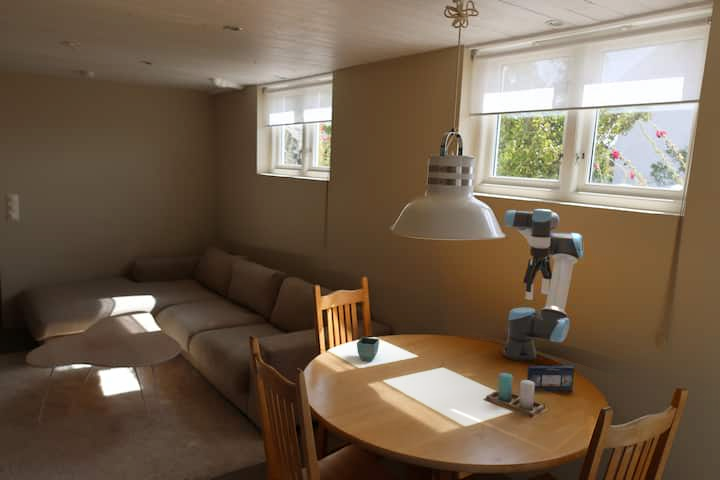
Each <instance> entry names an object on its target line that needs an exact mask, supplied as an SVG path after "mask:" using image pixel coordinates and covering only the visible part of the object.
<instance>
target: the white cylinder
mask: <svg viewBox="0 0 720 480" xmlns="http://www.w3.org/2000/svg"><path fill="white" fill-rule="evenodd" d="M519 384H520V387H519V395H520V400H519V407H521V408H523V409H526V410H529V411H532V410H533V402H534V401H535V400H534V399H535V389H534V387H535V383H534V382H532V381H530V380H527V379H523V380H521V381H520V383H519Z"/></svg>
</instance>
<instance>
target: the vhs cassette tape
mask: <svg viewBox="0 0 720 480" xmlns="http://www.w3.org/2000/svg"><path fill="white" fill-rule="evenodd" d="M574 375H575V367H574V366H572V365H528V366H527V378H526V380H530V381H532V382H534V383H535V387H534V390H537V389H538V390H542V391H546V392H572V391H573V389H574V388H573V387H574Z"/></svg>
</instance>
